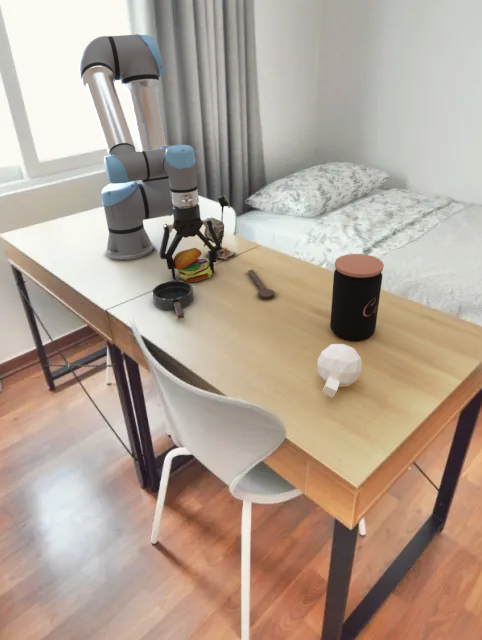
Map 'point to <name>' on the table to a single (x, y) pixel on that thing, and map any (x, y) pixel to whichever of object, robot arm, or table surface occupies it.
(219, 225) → the grey brown figurine
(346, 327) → the coffee jar
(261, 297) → the wooden spoon
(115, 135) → the robot arm
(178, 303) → the pan handle
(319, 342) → the table surface
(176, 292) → the pan
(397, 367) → the table surface
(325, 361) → the perfume bottle
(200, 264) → the cheeseburger
